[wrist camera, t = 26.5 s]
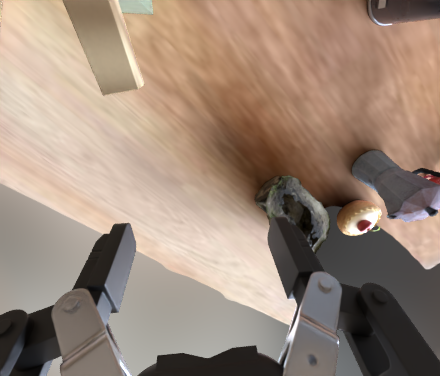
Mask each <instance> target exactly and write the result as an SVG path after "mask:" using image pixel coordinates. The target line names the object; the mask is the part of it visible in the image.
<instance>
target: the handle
mask: <svg viewBox="0 0 440 376" xmlns="http://www.w3.org/2000/svg"><path fill="white" fill-rule="evenodd" d="M63 2H64V5H65V7H66V9H67V12H68V14H69V16H70V19H71V21H72V24H73V26H74V28H75V31H76V33H77V35H78V38H79V40H80V42H81V45H82V47H83V49H84V52H85V54H86V56H87V59H88V61H89V63H90V66H91V68H92V71H93V73H94V75H95V78H96V80H97V82H98V85H99V87H100V89H101V92H102V94H103V95H110V94H116V93H121V92H127V91H132V90H138V89H139V88H140V87H142V86H143V85H144V81H143V78H142V75H141V72H140V69H139V66H138V62H137V59H136V56H135V53H134V50H133V46H132V43H131V40H130V37H129V34H128V30H127V27H126V24H125V21H124V18H123V15H122V11H121V8H120V5H119V2H118V0H63Z"/></svg>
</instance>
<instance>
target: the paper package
mask: <svg viewBox="0 0 440 376" xmlns="http://www.w3.org/2000/svg"><path fill="white" fill-rule="evenodd" d="M2 1H3V0H0V26H1V13H2Z"/></svg>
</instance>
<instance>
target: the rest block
mask: <svg viewBox="0 0 440 376" xmlns="http://www.w3.org/2000/svg"><path fill="white" fill-rule="evenodd" d="M118 2H119V5H120V8H121V11H122V13H136V14H151V15H153V8H152V0H118Z"/></svg>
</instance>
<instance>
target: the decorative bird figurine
mask: <svg viewBox="0 0 440 376" xmlns="http://www.w3.org/2000/svg"><path fill="white" fill-rule="evenodd" d="M423 178H431V179H429V180H430V181H432V182H435V183H437V184H439V185H440V177H436V176H433V175H428V176H424V177H423Z"/></svg>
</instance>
